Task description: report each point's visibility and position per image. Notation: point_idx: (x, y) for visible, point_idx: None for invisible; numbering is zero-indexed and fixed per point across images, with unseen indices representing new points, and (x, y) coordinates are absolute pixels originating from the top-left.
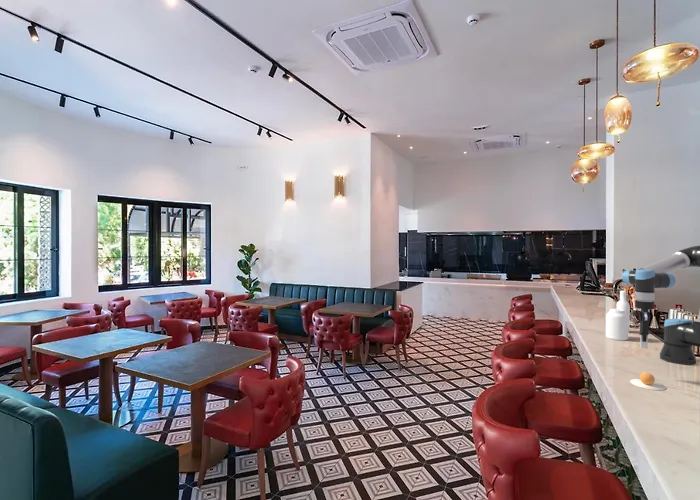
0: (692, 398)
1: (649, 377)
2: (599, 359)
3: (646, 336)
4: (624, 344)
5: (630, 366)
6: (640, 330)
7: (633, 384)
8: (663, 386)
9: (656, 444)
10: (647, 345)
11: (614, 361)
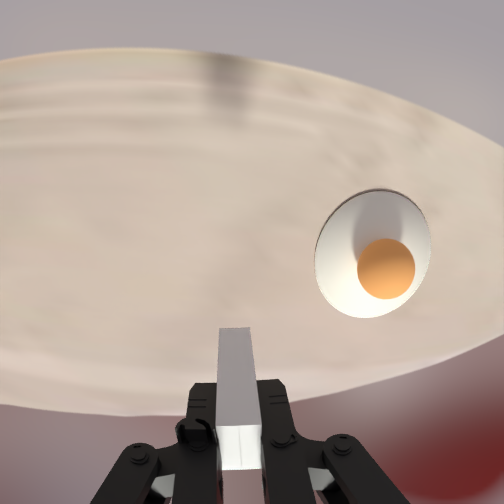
0: (451, 125)
1: (414, 266)
2: (100, 402)
3: (259, 420)
4: None
5: (112, 306)
6: (172, 495)
7: (399, 305)
8: (377, 199)
9: None
10: (250, 344)
11: (83, 357)
